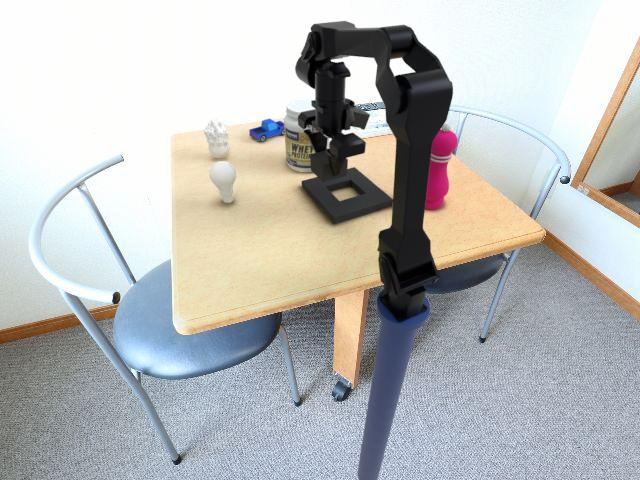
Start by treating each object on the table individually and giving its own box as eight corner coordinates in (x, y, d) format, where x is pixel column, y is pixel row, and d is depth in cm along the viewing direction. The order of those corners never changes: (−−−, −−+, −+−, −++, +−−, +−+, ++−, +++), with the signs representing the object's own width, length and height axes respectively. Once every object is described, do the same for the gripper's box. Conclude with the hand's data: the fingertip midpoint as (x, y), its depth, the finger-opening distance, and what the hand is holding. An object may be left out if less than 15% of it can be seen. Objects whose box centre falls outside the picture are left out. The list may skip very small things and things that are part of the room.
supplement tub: (281, 171, 103) (275, 111, 92) (293, 152, 112) (290, 95, 101) (323, 176, 100) (323, 115, 89) (332, 156, 109) (333, 98, 99)
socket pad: (392, 206, 89) (393, 199, 88) (334, 224, 84) (334, 217, 82) (354, 173, 102) (354, 166, 100) (301, 187, 96) (301, 180, 95)
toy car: (290, 134, 122) (289, 119, 118) (259, 144, 116) (257, 129, 113) (279, 128, 126) (278, 113, 122) (248, 137, 120) (246, 122, 117)
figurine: (213, 151, 113) (205, 112, 105) (234, 151, 113) (228, 112, 105) (207, 162, 107) (198, 122, 100) (230, 162, 107) (223, 122, 100)
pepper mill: (451, 205, 89) (472, 126, 76) (428, 214, 86) (447, 133, 74) (430, 191, 94) (447, 114, 81) (408, 199, 91) (422, 121, 78)
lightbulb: (219, 195, 94) (211, 156, 86) (243, 196, 93) (236, 156, 86) (213, 209, 89) (203, 168, 82) (237, 210, 88) (230, 169, 81)
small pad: (347, 175, 80) (348, 159, 78) (323, 182, 78) (323, 165, 76) (333, 164, 84) (334, 148, 82) (310, 170, 82) (310, 153, 80)
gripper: (393, 105, 67) (383, 179, 77) (341, 77, 80) (339, 144, 90) (340, 116, 63) (337, 193, 73) (295, 85, 76) (298, 154, 86)
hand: (329, 168), depth 81 cm, fingers closed on small pad, 6 cm apart
